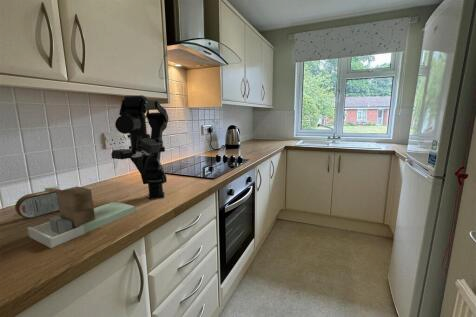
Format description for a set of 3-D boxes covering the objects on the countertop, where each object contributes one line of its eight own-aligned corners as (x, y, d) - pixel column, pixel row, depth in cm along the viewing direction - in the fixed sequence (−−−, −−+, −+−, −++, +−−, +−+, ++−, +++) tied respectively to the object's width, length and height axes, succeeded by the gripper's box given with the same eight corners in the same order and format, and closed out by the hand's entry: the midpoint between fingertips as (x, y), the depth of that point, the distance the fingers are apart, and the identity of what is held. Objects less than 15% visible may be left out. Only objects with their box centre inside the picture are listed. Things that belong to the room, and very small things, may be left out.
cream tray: (62, 224, 77) (60, 216, 76) (84, 233, 70) (83, 224, 70) (29, 236, 69) (27, 227, 69) (50, 248, 63) (48, 237, 62)
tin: (68, 206, 93) (65, 186, 91) (71, 208, 91) (67, 187, 89) (17, 220, 82) (12, 197, 80) (19, 222, 80) (14, 198, 78)
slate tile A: (64, 218, 71) (56, 221, 69) (71, 221, 69) (63, 224, 67) (66, 231, 72) (59, 234, 70) (73, 234, 70) (66, 237, 68)
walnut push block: (81, 214, 79) (77, 186, 77) (95, 219, 75) (90, 189, 74) (61, 222, 74) (56, 191, 72) (74, 227, 70) (69, 195, 68)
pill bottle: (47, 206, 93) (43, 186, 92) (61, 203, 96) (58, 183, 95) (47, 210, 90) (43, 189, 88) (62, 207, 93) (59, 186, 91)
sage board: (115, 206, 92) (114, 201, 91) (135, 211, 86) (134, 206, 86) (63, 225, 76) (62, 219, 76) (83, 233, 71) (82, 227, 70)
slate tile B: (56, 215, 73) (49, 218, 72) (63, 218, 71) (55, 221, 70) (59, 227, 74) (51, 230, 72) (65, 230, 72) (58, 233, 70)
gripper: (129, 134, 72) (134, 183, 75) (173, 130, 88) (176, 170, 91) (107, 133, 78) (113, 179, 81) (153, 129, 94) (156, 168, 97)
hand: (142, 174), depth 87 cm, fingers closed
